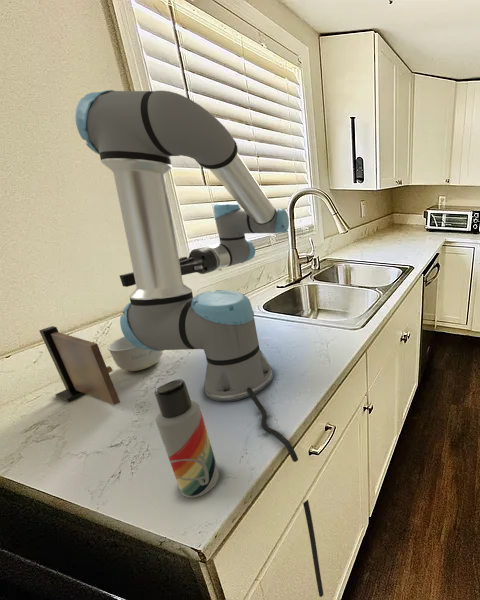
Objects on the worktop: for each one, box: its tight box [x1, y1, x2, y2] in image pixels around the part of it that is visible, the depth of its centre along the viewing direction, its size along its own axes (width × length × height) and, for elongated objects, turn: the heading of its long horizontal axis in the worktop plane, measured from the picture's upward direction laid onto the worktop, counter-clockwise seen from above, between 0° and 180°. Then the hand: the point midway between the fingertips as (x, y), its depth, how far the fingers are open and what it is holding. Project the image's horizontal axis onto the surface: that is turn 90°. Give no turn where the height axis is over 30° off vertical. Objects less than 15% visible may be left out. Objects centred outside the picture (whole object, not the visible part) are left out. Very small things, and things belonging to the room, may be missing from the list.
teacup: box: [107, 336, 164, 372], centre depth 90 cm, size 14×11×8 cm
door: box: [51, 331, 121, 406], centre depth 73 cm, size 15×2×15 cm, turn 68°
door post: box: [38, 325, 85, 403], centre depth 76 cm, size 5×6×17 cm
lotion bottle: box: [154, 379, 220, 499], centre depth 51 cm, size 6×6×20 cm
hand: (123, 281), depth 79 cm, fingers closed
